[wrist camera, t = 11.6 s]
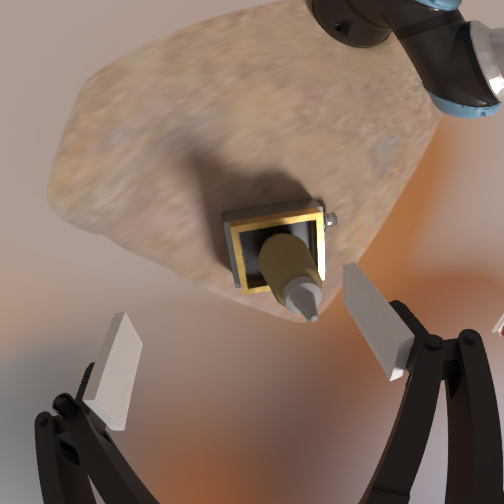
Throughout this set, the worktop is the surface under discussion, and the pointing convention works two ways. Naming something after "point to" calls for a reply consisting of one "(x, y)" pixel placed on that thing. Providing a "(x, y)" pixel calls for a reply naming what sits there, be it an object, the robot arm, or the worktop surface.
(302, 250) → the squeeze bottle
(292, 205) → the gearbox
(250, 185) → the worktop surface
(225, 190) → the worktop surface
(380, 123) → the worktop surface
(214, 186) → the worktop surface
